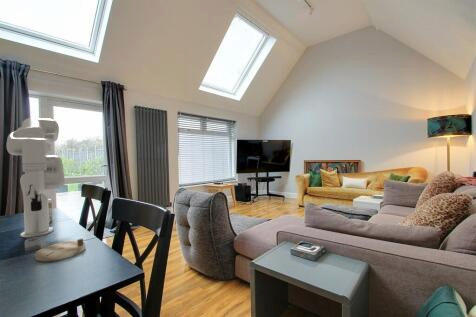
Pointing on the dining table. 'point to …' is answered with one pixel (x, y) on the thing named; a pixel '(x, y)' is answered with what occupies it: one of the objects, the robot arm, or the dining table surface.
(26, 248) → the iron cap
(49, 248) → the turntable
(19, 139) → the robot arm
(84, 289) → the dining table surface
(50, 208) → the sprinkles bottle
